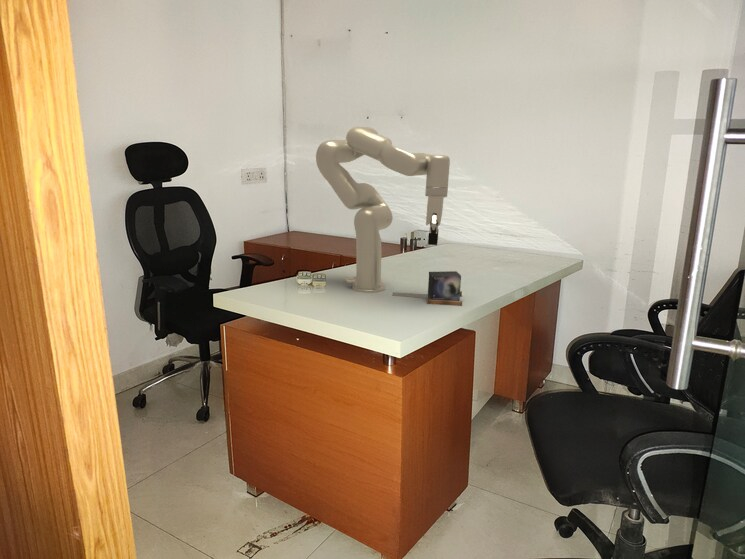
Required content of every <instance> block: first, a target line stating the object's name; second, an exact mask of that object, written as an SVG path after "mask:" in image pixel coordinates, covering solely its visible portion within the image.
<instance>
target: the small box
mask: <svg viewBox="0 0 745 559" xmlns="http://www.w3.org/2000/svg"><path fill="white" fill-rule="evenodd" d="M427 284H428V286H427V294H428V295H427V300H428V299H431V300H449V301H461V300H460V299H461V297H460V291H461V286H462V275H461V274H460V273H459V272H458V271H456V270H454V271H453V270H452V271H446V270H445V271H428V283H427Z"/></svg>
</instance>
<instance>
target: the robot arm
mask: <svg viewBox="0 0 745 559" xmlns="http://www.w3.org/2000/svg"><path fill="white" fill-rule="evenodd" d="M315 154H316V155H315V161H316V162H315V163H316V167H317V168H318V170H319V172H320V173H321V175H322V177H323V178H324V179H325V181H327V183H328V184H329V186H331V188H332V190H333V192H334V193H335V194H336V195H337V197H338V199H339V200H340V201H341V203H342V204H343V205H344V207H345V208H347V209H348V210H357V212H356V213H355V215H354V218H353V225H354V231H355V240H356V241H355V242H356V243H355V244H356V245H355V246H356V247H355V248H356V253H355V254H356V258H355V259H356V265H355V266H356V274H355V276H353V277H349V276H348V277H347V276H346V277H345V282H346V283H347V284H352V286H351V287H352V288H351V289H352V290H353V291H355V292H359V293H368V294H369V293H370V294H372V293H381V292H383V291H384V290H385V289H386V286H385V285H384V284H383V283H382V239H381V235H380V231H381V230H385V229H387V228H388V227H390V226H391V224H392V222H393V219H394V218H393V213H392V210H391V208H390V207H389V206H388V204H387V203H386V202H385V200H384V199H383V197H382V196H381V194H380V193H379V192H378V190H377V189H376V188H375V187H374V186H373V185H371V184H369V183H365V182H359V183H358V182H357V181H356V180H355V179H354V178H353V177H352V176H351V173H350V172H349V171H348V169H346V168H344V167H343V166H342V165H341V164H342V163H343V164H344V163H350V162H353V161H355V160H357V159H360V158H361V157H364V156H367V157H368V158H371V159H373V160H376V161H378V162H380V163H381V164H382V165H383V166H384V167H386V168H388V169H390V170H391V171H394V172H396V173H399V174H400V175H402V176H406V177H415V176H426V178H425V179H426V180H425V193H424V195H425V197H427V204H426V216H425V221H426V222H425V225H426V226H428V227H429V231H428V232H429V233H428V240H427V245H428V246H438V242H439V241H438V239H439V226H441V222H442V216H443V210H444V208H443V207H444V198H448V190H449V177H450V176H449V175H450V165H451V160H450V157H449V156H448V155H445V154H429V153H421V152H417V153H416V152H413V153H412V152H411V153H410V152H407V151H405V150H403V149H400V148H398V147H396V146H394V145H393V143H392V140H391V139H390V138H388V137H386V136H383V135H381V134H379V132H378V131H377V130H376V129H374V128H372V127H369V126H355V127H352V128H351V129H349V130H348V132H347V133H346V136H345V139H330V140H325V141H323V142H321V143H320V144H319V145H318V147H317V149H316V153H315Z"/></svg>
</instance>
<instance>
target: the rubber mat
mask: <svg viewBox="0 0 745 559" xmlns="http://www.w3.org/2000/svg"><path fill="white" fill-rule="evenodd" d="M391 297H401V298H402V297H403V298H414V299H421V300H422V299H425V300H428V298H427V297H428V293H410V292H392V294H391Z"/></svg>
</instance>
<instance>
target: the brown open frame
mask: <svg viewBox="0 0 745 559" xmlns="http://www.w3.org/2000/svg"><path fill="white" fill-rule="evenodd" d="M462 292H463V291H462V290H460V298H461V297H462V296H463V294H462ZM426 300H427V301H426V304H427V305H442V306H458V307H462V306H463V300H460V301H449V300H431V299H428V298H427V299H426Z"/></svg>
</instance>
